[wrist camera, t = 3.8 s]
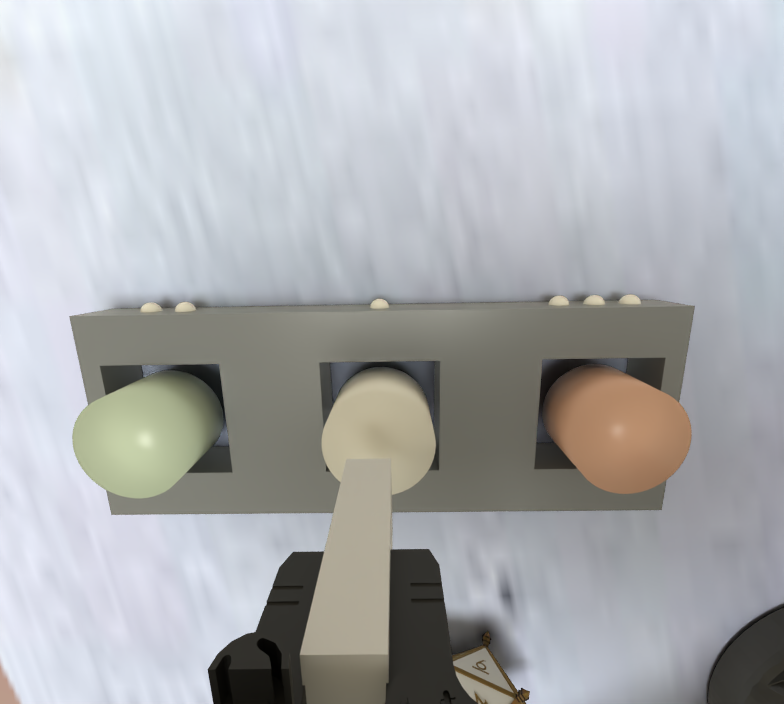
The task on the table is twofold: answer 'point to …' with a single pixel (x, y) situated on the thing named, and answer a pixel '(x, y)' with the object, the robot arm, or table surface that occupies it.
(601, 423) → the button three
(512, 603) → the table surface
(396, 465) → the button one
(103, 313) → the console
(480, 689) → the game die
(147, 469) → the button two
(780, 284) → the table surface
